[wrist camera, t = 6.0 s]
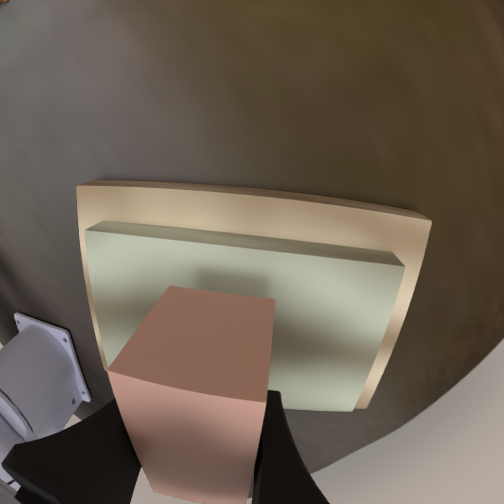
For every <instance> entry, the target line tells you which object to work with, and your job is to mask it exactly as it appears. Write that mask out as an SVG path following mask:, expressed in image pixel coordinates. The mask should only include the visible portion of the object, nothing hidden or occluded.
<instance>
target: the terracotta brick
mask: <svg viewBox="0 0 504 504" xmlns="http://www.w3.org/2000/svg"><path fill="white" fill-rule="evenodd" d="M274 308H275V299H270V298H261V297H252V296H244V295H236V294H228V293H220V292H213V291H205V290H198V289H191V288H184V287H177V286H169V287H168V288H167V290H166V291H165V292H164V294H163V295H162V296H161V297H160V299H159V300H158V301H157V303H156V304H155V305H154V307H153V308H152V309H151V311H150V312H149V313H148V315H147V316H146V317H145V319H144V320H143V321H142V323H141V324H140V325H139V327H138V328H137V329H136V331H135V332H134V333H133V335H132V336H131V337H130V339H129V340H128V342H127V343H126V344H125V346H124V347H123V348H122V350H121V351H120V353H119V354H118V355H117V357H116V358H115V359H114V361H113V362H112V364H111V365H110V366H109V368H108V369H107V372H108V376H109V379H110V383H111V386H112V389H113V392H114V395H115V399H116V402H117V405H118V407H119V410H120V413H121V416H122V419H123V422H124V424H125V427H126V430H127V432H128V435H129V437H130V440H131V442H132V445H133V447H134V450H135V452H136V455H137V457H138V459H139V461H140V464H141V466H142V468H143V470H144V473H145V475H146V477H147V479H148V481H149V483H150V485H151V487H152V489H153V491H154V492H156V493H160V494H164V495H167V496H171V497H175V498H179V499H183V500H187V501H192V502H196V503H202V504H246V502H247V498H248V493H249V489H250V484H251V479H252V475H253V470H254V465H255V460H256V455H257V450H258V445H259V440H260V435H261V429H262V424H263V419H264V413H265V408H266V402H267V392H268V381H269V370H270V358H271V346H272V334H273V322H274Z"/></svg>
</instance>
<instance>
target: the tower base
mask: <svg viewBox="0 0 504 504" xmlns="http://www.w3.org/2000/svg"><path fill="white" fill-rule="evenodd" d="M76 189H77V210H78V225H79V236H80V246H81V255H82V263H83V270H84V277H85V283H86V289H87V295H88V301H89V306H90V311H91V316H92V321H93V326H94V330H95V335H96V339H97V343H98V347H99V351H100V355H101V359H102V363H103V366H104V370H106V371H107V369H108V368H109V366H110V365H111V364H112V362H113V361H114V359H115V358H116V357H117V355H118V354H119V353H120V351H121V350H122V348H123V347H124V346H125V344H126V343H127V342H128V340H129V339H130V337H131V336H132V335H133V333H134V332H135V331H136V329H137V328H138V327H139V325H140V324H141V323H142V321H143V320H144V319H145V317H146V316H147V315H148V313H149V312H150V311H151V309H152V308H153V307H154V305H155V304H156V303H157V301H158V300H159V299H160V297H161V296H162V295H163V294H164V292H165V291H166V290H167V288H168V287H169V286H177V287H184V288H191V289H198V290H205V291H213V292H220V293H228V294H236V295H244V296H252V297H261V298H270V299H275V308H274V322H273V334H272V346H271V358H270V370H269V381H268V390H276V391H279V392H280V393H281V399H282V405H283V408H287V409H301V410H319V411H353V409H354V408H367V406H368V404H369V402H370V400H371V398H372V396H373V393H374V391H375V389H376V387H377V385H378V383H379V381H380V378H381V376H382V374H383V372H384V369H385V367H386V365H387V362H388V360H389V358H390V355H391V353H392V350H393V348H394V345H395V343H396V340H397V338H398V335H399V332H400V330H401V327H402V324H403V321H404V319H405V316H406V313H407V310H408V307H409V304H410V301H411V298H412V295H413V292H414V288H415V285H416V282H417V278H418V275H419V271H420V268H421V264H422V260H423V257H424V253H425V249H426V245H427V241H428V236H429V232H430V228H431V223H432V221H431V220H429V219H428V218H426V217H424V216H422V215H421V214H419V213H417V212H416V211H413V210H407V209H402V208H396V207H391V206H385V205H379V204H373V203H366V202H360V201H353V200H347V199H340V198H333V197H326V196H318V195H310V194H302V193H294V192H285V191H276V190H267V189H257V188H247V187H236V186H224V185H211V184H197V183H181V182H162V181H138V180H95V181H91V182H87V183H84V184H80V185H76Z"/></svg>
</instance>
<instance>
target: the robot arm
mask: <svg viewBox="0 0 504 504" xmlns="http://www.w3.org/2000/svg"><path fill="white" fill-rule="evenodd" d="M14 317H15V320H16V324H17V327H18V329H19V332H20V333H18V334H17V335H16V336H15V337H14V338H13V339H12V340H11V341H9V342H8V343H7V344H6V345H5V346H4V347H3V348H2V349H1V350H0V504H130V502H131V498H132V495H133V491H134V488H135V484H136V481H137V478H138V475H139V472H140V469H141V467H142V466H141V464H140V461H139V459H138V457H137V455H136V452H135V450H134V447H133V445H132V442H131V440H130V437H129V435H128V432H127V430H126V427H125V424H124V422H123V419H122V416H121V413H120V410H119V407H118V405H117V402H116V399H115V398H114V399H113V400H112V401H111V402H109V403H108V404H106V405H105V406H104V407H102V408H101V409H99V410H98V411H97V412H95V413H94V414H92V415H90V416H89V417H87V418H85V419H84V420H82V421H80V422H78V423H76V424H74V425H73V426H71V427H69V428H67V429H64V430H63V428H64V427H65V425H66V424H67V422H68V421H69V419H70V418H71V416H72V415H73V413H74V412H75V410H76V409H77V407H78V406H79V405H80V403H81V402H82V400H84V401H87V402H90V400H91V397H90V394H89V392H88V389H87V386H86V384H85V381H84V378H83V375H82V372H81V369H80V366H79V363H78V360H77V357H76V354H75V351H74V347H73V344H72V341H71V337H70V334H69V332H68V331H67V330H65V329H62V328H59V327H56V326H53V325H51V324H48V323H45V322H42V321H39V320H37V319H34V318H31V317H29V316H26V315H23V314H21V313H18V312H16V313H15V314H14ZM18 488H19V490H18V491H16V490H15V489H18ZM252 504H330V503H329V502H328V501H327V499H326V498H325V497H324V495H323V494H322V492H321V491H320V489H319V488H318V487H317V485H316V484H315V482H314V480H313V479H312V477H311V475H310V474H309V472H308V470H307V468H306V466H305V465H304V463H303V461H302V459H301V457H300V454H299V452H298V450H297V448H296V445H295V443H294V440H293V438H292V435H291V432H290V429H289V427H288V424H287V420H286V417H285V413H284V409H283V405H282V399H281V393H280V392H279V391H276V390H268V392H267V402H266V408H265V413H264V419H263V424H262V429H261V435H260V440H259V445H258V450H257V455H256V460H255V465H254V488H253V497H252Z"/></svg>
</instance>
